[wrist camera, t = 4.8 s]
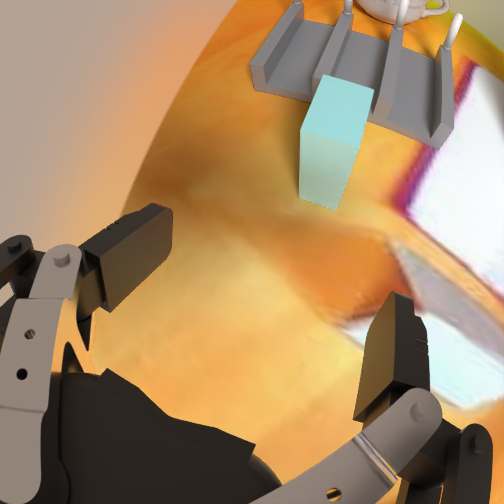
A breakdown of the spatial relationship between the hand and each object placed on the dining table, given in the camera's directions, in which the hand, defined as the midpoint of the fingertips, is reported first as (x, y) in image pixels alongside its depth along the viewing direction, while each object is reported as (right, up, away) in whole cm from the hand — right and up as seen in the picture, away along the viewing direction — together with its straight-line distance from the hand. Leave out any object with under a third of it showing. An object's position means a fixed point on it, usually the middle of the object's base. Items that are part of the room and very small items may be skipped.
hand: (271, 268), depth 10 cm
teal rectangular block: (+6, +7, +15) cm, 18 cm away
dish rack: (+11, +21, +18) cm, 29 cm away
